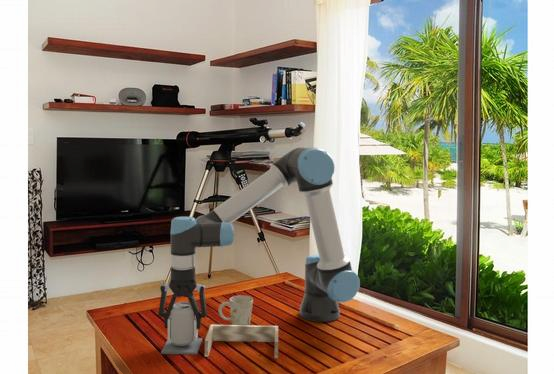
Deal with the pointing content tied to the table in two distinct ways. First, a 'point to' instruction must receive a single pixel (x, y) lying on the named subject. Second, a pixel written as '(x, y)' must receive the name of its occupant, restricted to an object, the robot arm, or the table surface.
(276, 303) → the table surface
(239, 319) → the mug
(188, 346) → the mat
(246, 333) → the u-shaped shelf bracket
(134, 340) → the table surface
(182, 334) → the can
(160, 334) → the table surface
